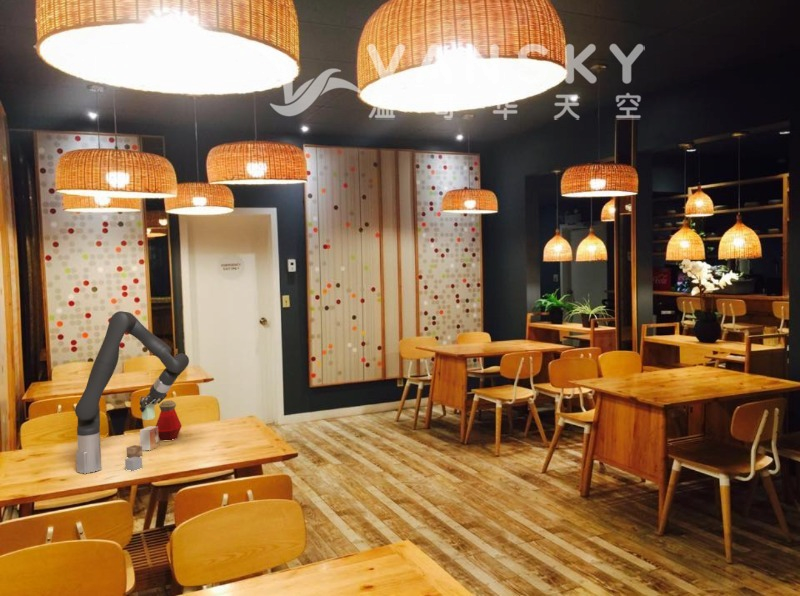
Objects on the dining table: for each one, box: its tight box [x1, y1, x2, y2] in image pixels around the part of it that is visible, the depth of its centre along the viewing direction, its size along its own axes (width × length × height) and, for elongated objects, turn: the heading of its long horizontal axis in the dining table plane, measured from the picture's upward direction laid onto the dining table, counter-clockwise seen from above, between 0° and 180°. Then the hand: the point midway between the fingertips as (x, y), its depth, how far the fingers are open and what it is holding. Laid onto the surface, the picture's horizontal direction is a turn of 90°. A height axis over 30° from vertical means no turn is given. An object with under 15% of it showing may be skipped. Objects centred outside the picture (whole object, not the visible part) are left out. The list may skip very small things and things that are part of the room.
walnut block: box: [126, 444, 143, 459], centre depth 308 cm, size 5×5×5 cm
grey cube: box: [124, 457, 143, 472], centre depth 289 cm, size 5×5×5 cm
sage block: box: [141, 403, 156, 421], centre depth 302 cm, size 4×4×7 cm
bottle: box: [155, 400, 182, 441], centre depth 339 cm, size 16×14×20 cm
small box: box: [139, 425, 160, 451], centre depth 322 cm, size 8×6×10 cm
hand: (145, 409), depth 303 cm, fingers closed on sage block, 4 cm apart
